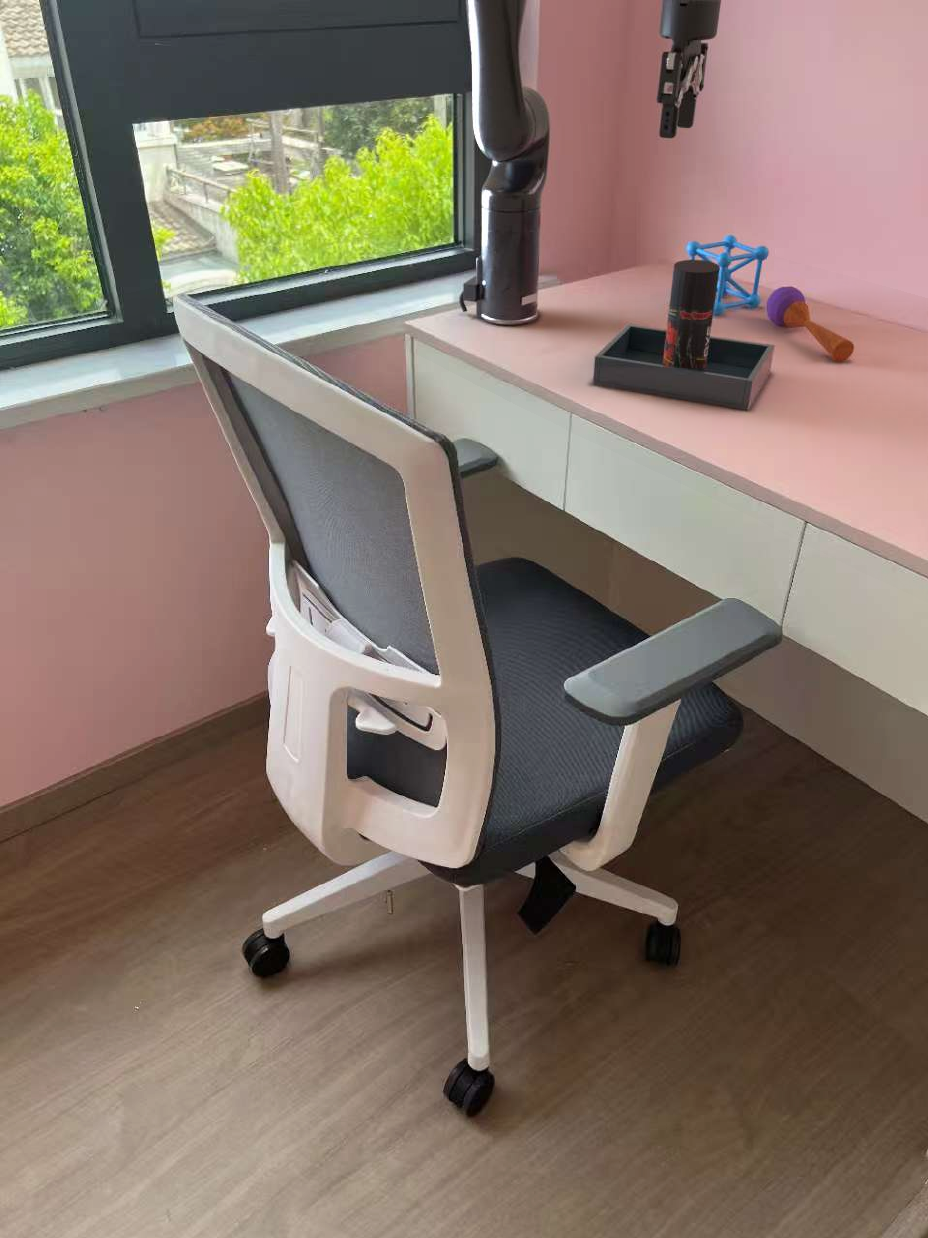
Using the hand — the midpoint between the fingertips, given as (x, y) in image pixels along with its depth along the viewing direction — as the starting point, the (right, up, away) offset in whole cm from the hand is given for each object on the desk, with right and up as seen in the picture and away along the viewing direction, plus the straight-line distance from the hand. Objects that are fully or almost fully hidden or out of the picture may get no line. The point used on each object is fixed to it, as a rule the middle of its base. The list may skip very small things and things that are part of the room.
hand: (676, 132), depth 138 cm
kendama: (+23, -25, +14) cm, 37 cm away
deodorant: (+1, -34, +1) cm, 34 cm away
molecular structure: (+13, -16, +28) cm, 35 cm away
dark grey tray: (+1, -34, +1) cm, 34 cm away
